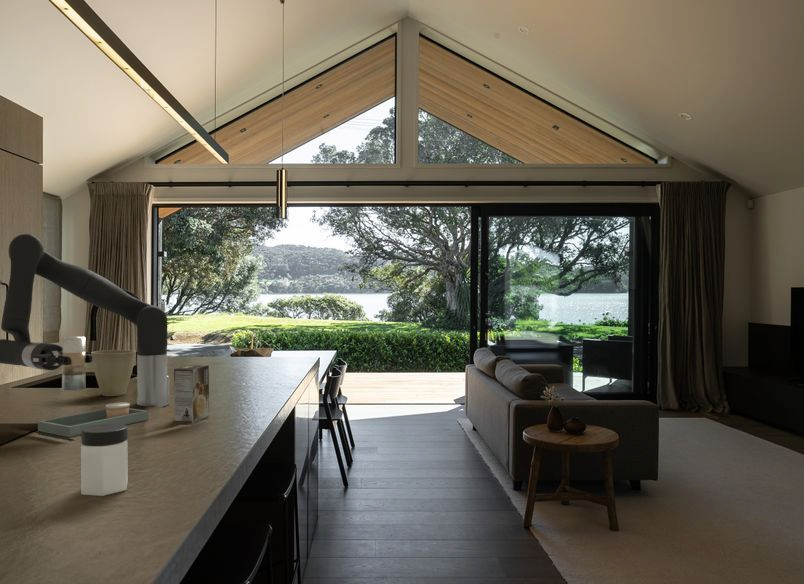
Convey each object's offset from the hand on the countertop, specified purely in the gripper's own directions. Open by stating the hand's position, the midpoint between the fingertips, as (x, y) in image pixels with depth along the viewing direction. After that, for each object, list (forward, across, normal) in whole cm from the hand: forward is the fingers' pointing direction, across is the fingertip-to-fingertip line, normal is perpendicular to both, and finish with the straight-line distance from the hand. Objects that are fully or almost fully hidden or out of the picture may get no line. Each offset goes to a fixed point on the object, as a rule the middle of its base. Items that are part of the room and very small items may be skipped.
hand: (79, 359), depth 167 cm
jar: (+48, -26, +20) cm, 58 cm away
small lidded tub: (-2, +13, +19) cm, 23 cm away
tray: (-2, +6, +20) cm, 21 cm away
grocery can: (-2, 0, +8) cm, 8 cm away
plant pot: (-47, +44, +20) cm, 68 cm away
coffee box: (+14, +26, +20) cm, 36 cm away
